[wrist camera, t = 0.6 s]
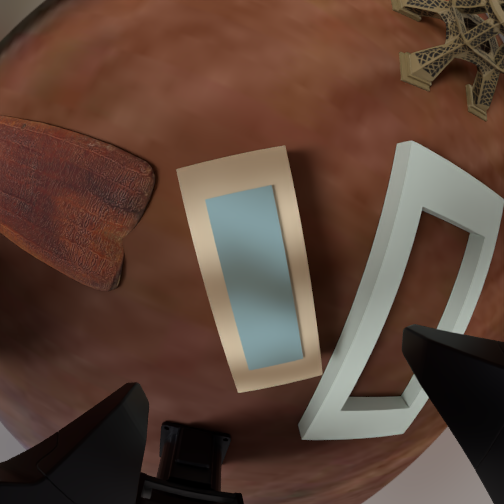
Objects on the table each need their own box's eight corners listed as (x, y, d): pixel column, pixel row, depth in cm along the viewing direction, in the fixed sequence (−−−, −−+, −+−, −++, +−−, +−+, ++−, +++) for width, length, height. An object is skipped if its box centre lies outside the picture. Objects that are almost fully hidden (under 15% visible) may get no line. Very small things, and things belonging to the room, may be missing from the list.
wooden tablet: (166, 163, 17) (159, 161, 16) (121, 295, 19) (113, 303, 17) (-28, 103, 14) (-37, 101, 12) (-50, 190, 15) (-60, 191, 14)
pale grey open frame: (396, 422, 23) (403, 433, 21) (297, 424, 22) (301, 439, 20) (489, 197, 18) (504, 199, 16) (396, 143, 17) (412, 140, 15)
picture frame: (312, 352, 21) (323, 376, 18) (237, 368, 21) (238, 394, 18) (277, 152, 17) (285, 144, 14) (186, 172, 17) (175, 169, 14)
